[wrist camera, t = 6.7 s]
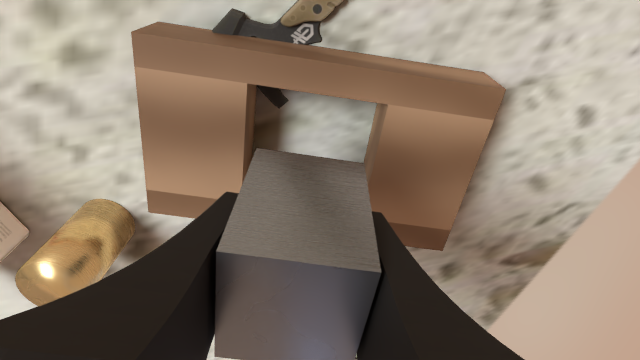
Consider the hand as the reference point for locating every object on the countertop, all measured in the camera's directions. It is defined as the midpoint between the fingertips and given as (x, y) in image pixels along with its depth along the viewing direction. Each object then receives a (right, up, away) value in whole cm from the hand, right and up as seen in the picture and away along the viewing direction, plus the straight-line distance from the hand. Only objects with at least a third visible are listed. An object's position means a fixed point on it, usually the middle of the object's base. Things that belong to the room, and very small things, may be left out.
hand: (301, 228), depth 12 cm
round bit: (-11, -1, +10) cm, 15 cm away
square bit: (0, +1, +1) cm, 2 cm away
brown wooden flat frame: (0, +4, +6) cm, 8 cm away
